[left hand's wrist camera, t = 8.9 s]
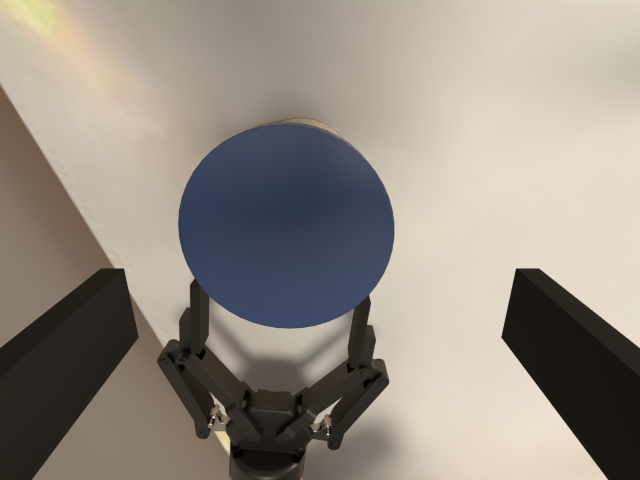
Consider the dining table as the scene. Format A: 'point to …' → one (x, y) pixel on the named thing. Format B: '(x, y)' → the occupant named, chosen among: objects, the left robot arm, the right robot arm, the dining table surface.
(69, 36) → the dining table surface
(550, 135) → the dining table surface
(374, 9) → the dining table surface
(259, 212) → the lid
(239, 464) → the right robot arm
